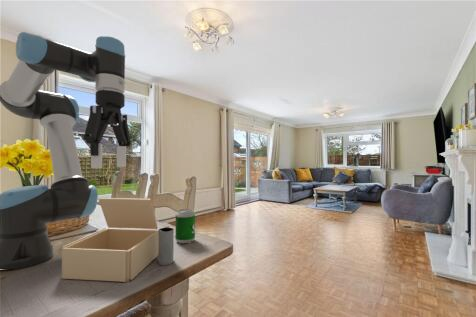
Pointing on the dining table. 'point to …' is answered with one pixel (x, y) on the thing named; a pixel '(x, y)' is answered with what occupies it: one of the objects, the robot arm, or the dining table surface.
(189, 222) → the soda can
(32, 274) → the dining table surface
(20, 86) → the robot arm
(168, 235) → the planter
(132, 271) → the carton
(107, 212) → the flap
